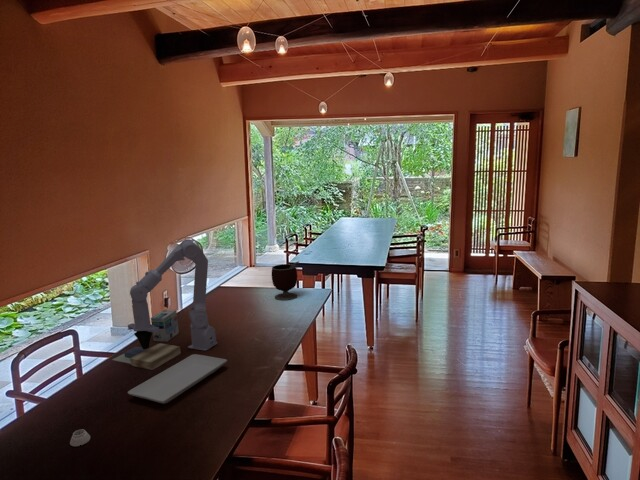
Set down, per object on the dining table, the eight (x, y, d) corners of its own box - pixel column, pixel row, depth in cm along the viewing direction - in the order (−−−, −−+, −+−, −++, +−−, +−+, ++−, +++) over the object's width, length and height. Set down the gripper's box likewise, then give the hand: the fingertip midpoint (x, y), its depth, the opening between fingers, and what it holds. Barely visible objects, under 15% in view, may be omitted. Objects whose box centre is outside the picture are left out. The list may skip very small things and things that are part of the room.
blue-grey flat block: (151, 353, 183) (150, 348, 182) (139, 359, 177) (139, 355, 177) (136, 351, 186) (136, 346, 186) (124, 357, 181) (124, 352, 181)
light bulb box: (167, 342, 195) (164, 318, 193) (153, 341, 196) (150, 317, 194) (179, 332, 205) (176, 309, 203) (166, 332, 206) (163, 309, 205)
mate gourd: (270, 301, 243) (267, 264, 240) (277, 293, 257) (274, 258, 253) (298, 301, 241) (296, 264, 237) (303, 293, 254) (301, 258, 251)
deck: (180, 353, 182) (179, 346, 181) (152, 370, 169) (151, 362, 168) (160, 350, 187) (159, 343, 186) (131, 365, 173) (130, 358, 173)
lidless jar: (85, 447, 124) (93, 435, 129) (83, 437, 124) (92, 426, 128) (66, 448, 124) (75, 437, 129) (65, 438, 123) (74, 427, 128)
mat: (157, 350, 186) (157, 350, 186) (132, 364, 174) (132, 363, 174) (137, 347, 191) (137, 346, 191) (111, 360, 179) (111, 359, 179)
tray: (126, 401, 148) (125, 391, 147) (194, 361, 175) (193, 352, 174) (164, 411, 140) (163, 401, 139) (229, 368, 167) (228, 359, 167)
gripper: (119, 317, 176) (124, 349, 179) (147, 320, 170) (151, 354, 172) (134, 311, 183) (138, 343, 185) (161, 314, 176) (165, 347, 179)
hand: (145, 348), depth 179 cm, fingers closed
